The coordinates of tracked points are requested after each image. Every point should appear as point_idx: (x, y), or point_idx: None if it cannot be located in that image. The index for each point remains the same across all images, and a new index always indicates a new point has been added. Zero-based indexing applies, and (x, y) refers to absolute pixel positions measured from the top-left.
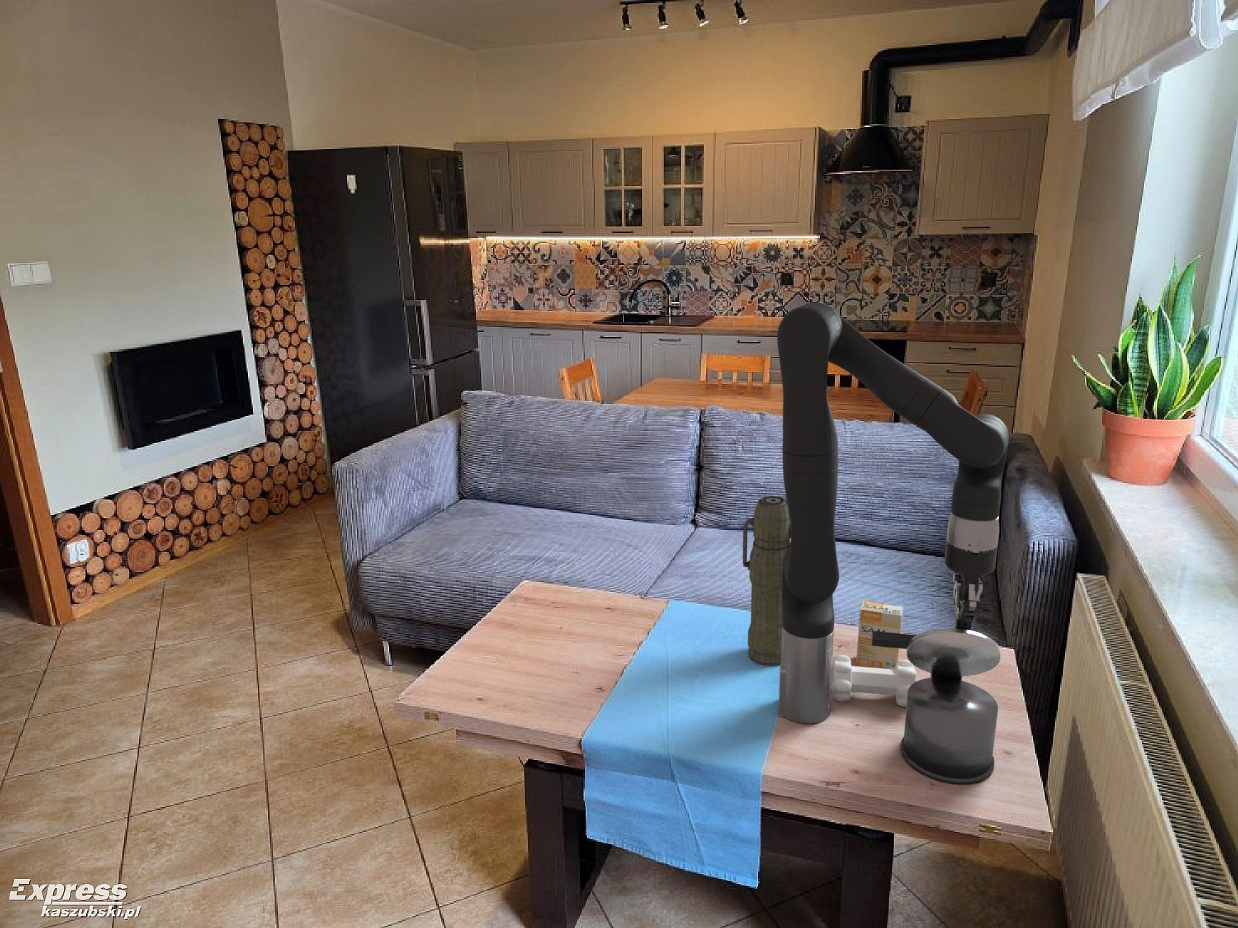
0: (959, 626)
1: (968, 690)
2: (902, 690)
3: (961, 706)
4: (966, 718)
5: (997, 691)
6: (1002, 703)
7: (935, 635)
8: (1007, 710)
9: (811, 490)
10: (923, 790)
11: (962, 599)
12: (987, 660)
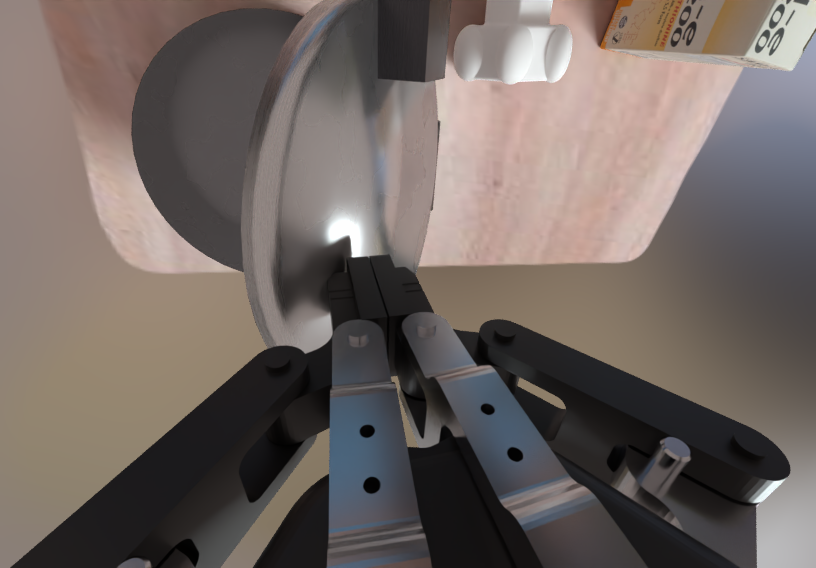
0: (350, 301)
1: None
2: (465, 36)
3: None
4: (184, 199)
5: (522, 243)
6: (487, 248)
7: (249, 158)
8: (466, 253)
9: None
10: (116, 52)
11: (299, 501)
12: None
